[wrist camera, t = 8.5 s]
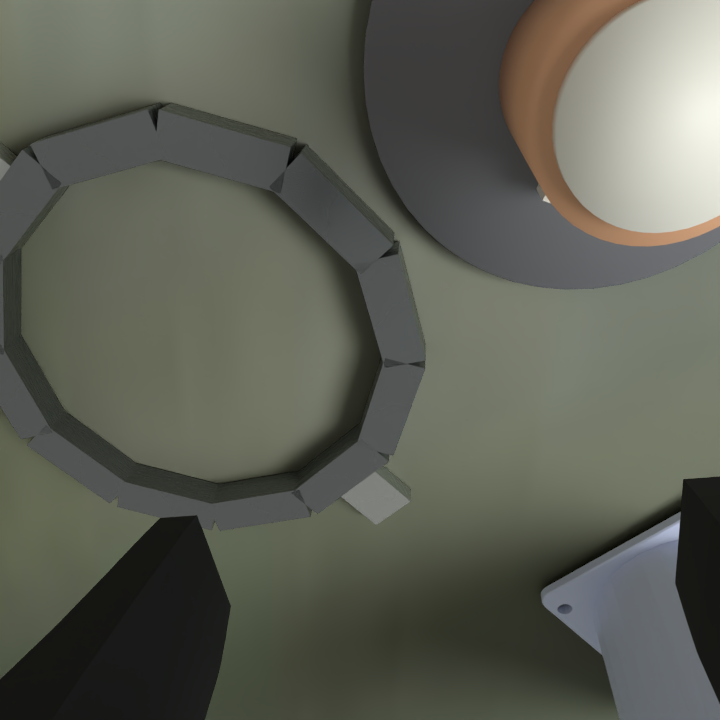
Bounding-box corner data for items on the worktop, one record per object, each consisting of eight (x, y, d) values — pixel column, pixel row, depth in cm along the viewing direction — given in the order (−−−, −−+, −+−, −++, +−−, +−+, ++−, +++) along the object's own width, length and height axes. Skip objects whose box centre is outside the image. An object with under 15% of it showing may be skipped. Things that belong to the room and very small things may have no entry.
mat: (938, 69, 16) (957, 72, 15) (550, 351, 20) (554, 362, 20) (667, -397, 12) (678, -413, 12) (273, 65, 17) (268, 68, 16)
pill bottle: (628, 219, 17) (705, 311, 13) (460, 158, 17) (475, 230, 12) (760, -19, 15) (921, -15, 10) (564, -99, 14) (635, -133, 9)
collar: (552, 390, 21) (557, 408, 20) (268, 589, 26) (262, 610, 25) (83, -79, 15) (64, -82, 15) (-151, 290, 21) (-176, 304, 20)
